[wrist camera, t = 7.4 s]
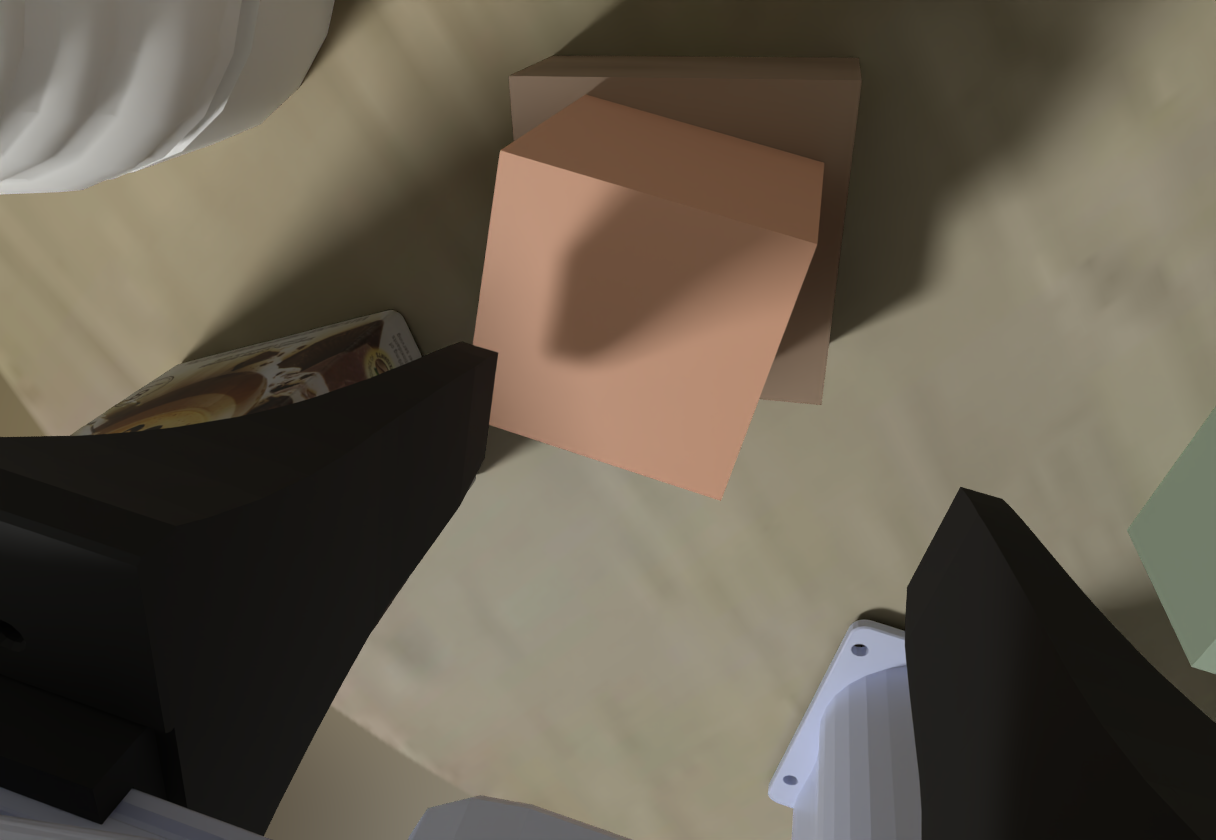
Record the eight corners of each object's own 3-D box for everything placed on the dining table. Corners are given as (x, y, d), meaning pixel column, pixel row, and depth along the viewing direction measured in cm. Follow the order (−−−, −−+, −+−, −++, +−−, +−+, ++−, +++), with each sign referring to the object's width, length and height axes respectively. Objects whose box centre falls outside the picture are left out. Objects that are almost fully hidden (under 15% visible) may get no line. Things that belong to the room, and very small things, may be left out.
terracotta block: (748, 374, 19) (720, 500, 15) (544, 311, 20) (462, 416, 15) (824, 162, 16) (817, 243, 12) (585, 94, 17) (500, 150, 13)
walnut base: (823, 341, 22) (821, 404, 19) (570, 321, 23) (532, 377, 21) (858, 55, 18) (861, 80, 15) (557, 53, 20) (508, 75, 17)
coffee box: (398, 297, 24) (-165, 773, 11) (483, 479, 27) (120, 1041, 13) (170, 358, 27) (-481, 780, 14) (266, 514, 30) (-200, 995, 17)
